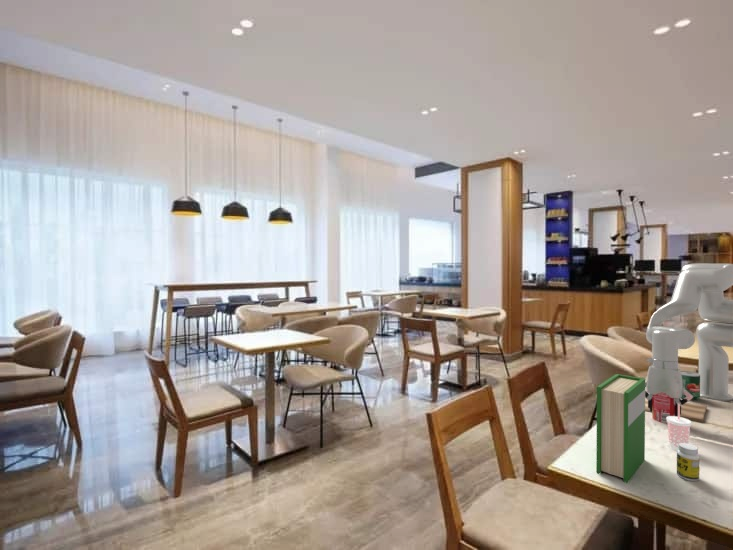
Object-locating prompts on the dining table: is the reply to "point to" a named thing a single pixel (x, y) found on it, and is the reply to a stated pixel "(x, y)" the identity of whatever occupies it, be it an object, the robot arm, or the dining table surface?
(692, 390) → the canned tomato
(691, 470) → the supplement bottle
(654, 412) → the soda can
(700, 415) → the plank
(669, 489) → the dining table surface
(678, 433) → the beverage cup
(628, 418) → the hardback book
